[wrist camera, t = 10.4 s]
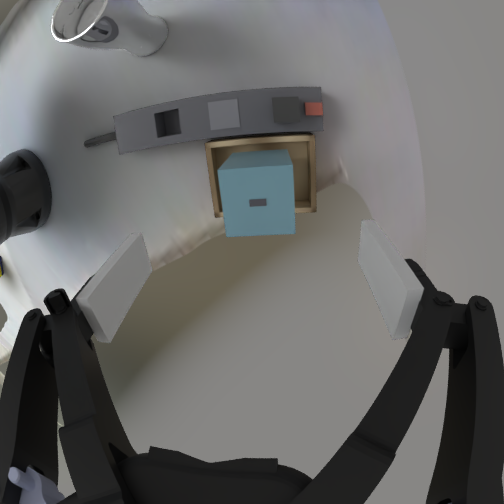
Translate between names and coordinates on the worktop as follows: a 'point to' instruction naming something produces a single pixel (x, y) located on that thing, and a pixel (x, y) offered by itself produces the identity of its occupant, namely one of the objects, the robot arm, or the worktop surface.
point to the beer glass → (108, 26)
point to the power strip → (217, 117)
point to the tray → (295, 143)
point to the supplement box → (0, 269)
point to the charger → (258, 193)
